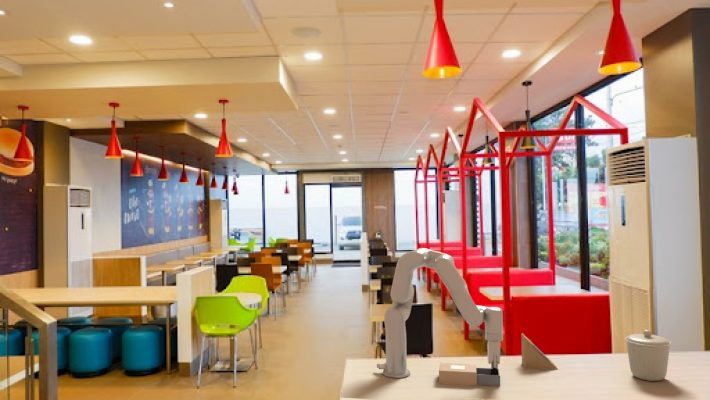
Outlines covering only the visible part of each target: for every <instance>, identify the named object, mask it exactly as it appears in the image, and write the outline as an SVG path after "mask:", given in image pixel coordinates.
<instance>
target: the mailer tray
mask: <svg viewBox="0 0 710 400" xmlns="http://www.w3.org/2000/svg"><path fill="white" fill-rule="evenodd" d="M476 372H477V385H476V386H490V387H491V386H495V387H501V374H500V369H499V368H498V375H491V367H490V368H488V367H487V368H486V367H476Z"/></svg>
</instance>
